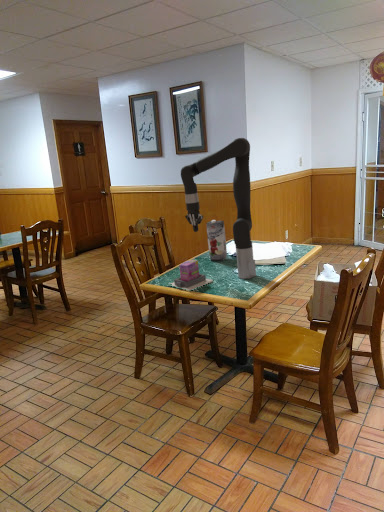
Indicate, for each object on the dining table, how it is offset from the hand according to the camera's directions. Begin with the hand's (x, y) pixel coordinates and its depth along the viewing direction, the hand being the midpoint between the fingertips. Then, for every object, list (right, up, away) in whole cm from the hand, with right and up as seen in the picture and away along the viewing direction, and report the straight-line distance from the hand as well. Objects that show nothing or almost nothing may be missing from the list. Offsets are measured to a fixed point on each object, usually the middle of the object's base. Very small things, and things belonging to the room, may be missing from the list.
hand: (196, 231), depth 227 cm
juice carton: (+16, -17, +36) cm, 43 cm away
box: (-3, -29, -5) cm, 30 cm away
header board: (-3, -30, -4) cm, 30 cm away
